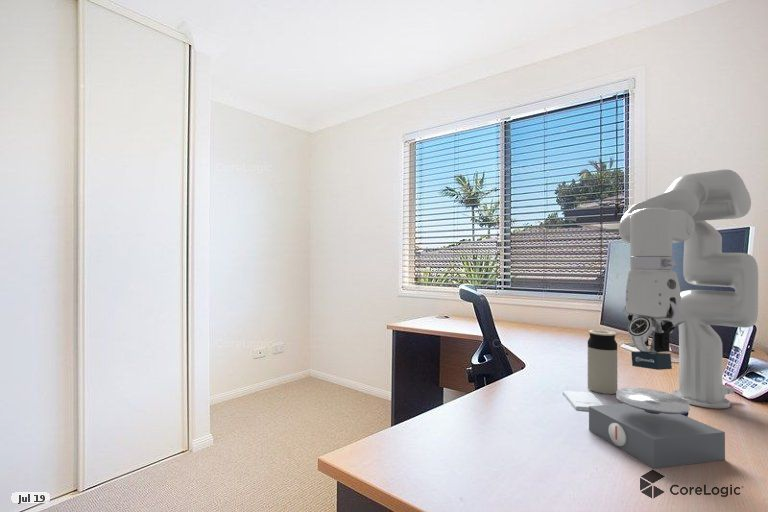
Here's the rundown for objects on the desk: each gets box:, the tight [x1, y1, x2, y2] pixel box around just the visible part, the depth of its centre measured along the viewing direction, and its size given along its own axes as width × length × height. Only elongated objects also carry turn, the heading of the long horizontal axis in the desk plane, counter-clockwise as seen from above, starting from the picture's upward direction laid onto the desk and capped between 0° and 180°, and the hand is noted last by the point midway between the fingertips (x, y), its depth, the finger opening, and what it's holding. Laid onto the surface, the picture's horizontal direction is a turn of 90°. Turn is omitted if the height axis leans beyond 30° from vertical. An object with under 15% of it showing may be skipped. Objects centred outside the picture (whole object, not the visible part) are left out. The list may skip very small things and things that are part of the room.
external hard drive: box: [562, 390, 605, 411], centre depth 107 cm, size 2×8×12 cm
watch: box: [627, 316, 673, 371], centre depth 83 cm, size 6×8×11 cm
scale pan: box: [615, 387, 691, 414], centre depth 83 cm, size 13×13×3 cm
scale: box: [588, 403, 726, 469], centre depth 82 cm, size 18×17×6 cm
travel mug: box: [587, 329, 618, 395], centre depth 117 cm, size 8×8×18 cm
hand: (651, 347), depth 83 cm, fingers closed on watch, 4 cm apart
